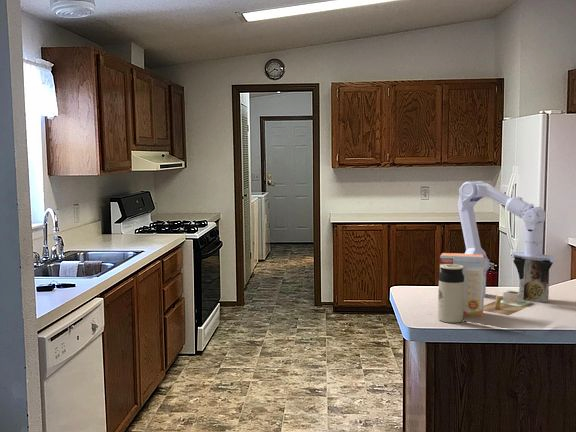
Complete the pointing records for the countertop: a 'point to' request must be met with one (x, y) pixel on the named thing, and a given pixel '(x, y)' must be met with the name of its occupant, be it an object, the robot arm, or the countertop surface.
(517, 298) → the white square frame
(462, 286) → the travel mug
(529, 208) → the robot arm
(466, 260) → the cracker box
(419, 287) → the countertop surface
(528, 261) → the coffee box
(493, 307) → the board
